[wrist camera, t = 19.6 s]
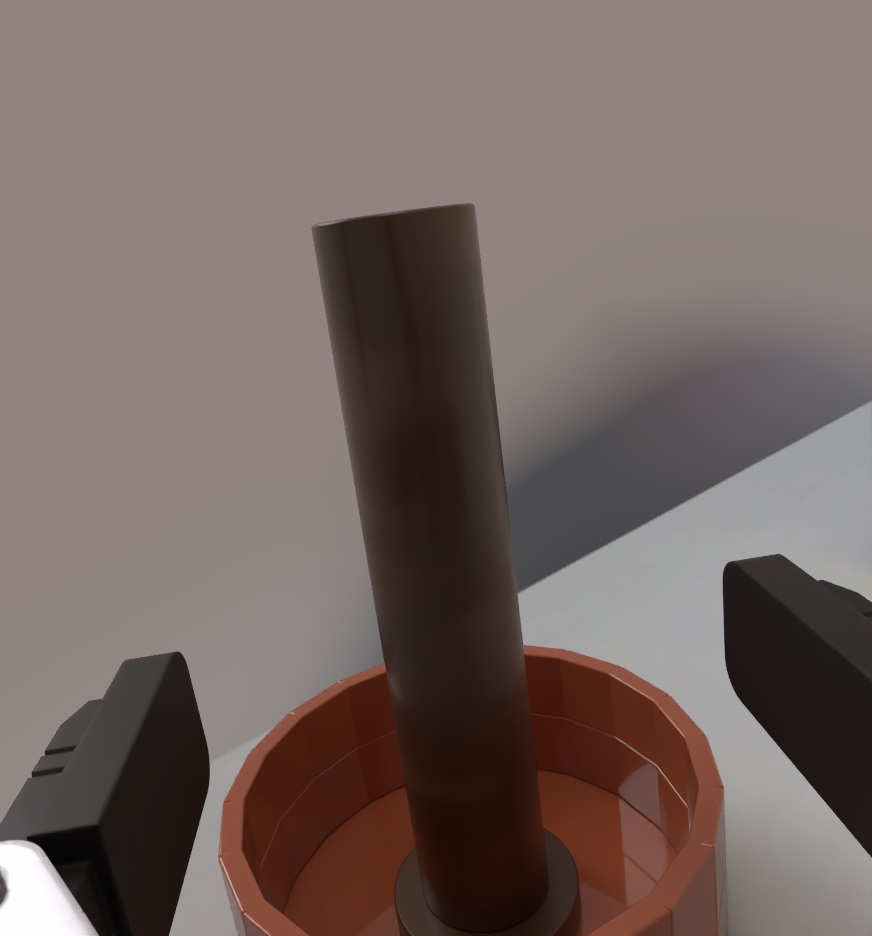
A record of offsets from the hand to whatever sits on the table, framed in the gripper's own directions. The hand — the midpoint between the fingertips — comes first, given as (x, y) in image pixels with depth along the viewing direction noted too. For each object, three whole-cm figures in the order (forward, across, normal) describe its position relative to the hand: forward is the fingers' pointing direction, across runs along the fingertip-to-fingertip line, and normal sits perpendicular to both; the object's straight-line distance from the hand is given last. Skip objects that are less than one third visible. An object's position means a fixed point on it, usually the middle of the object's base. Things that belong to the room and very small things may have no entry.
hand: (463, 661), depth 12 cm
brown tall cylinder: (+5, 0, +10) cm, 11 cm away
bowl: (+5, 0, +10) cm, 11 cm away
